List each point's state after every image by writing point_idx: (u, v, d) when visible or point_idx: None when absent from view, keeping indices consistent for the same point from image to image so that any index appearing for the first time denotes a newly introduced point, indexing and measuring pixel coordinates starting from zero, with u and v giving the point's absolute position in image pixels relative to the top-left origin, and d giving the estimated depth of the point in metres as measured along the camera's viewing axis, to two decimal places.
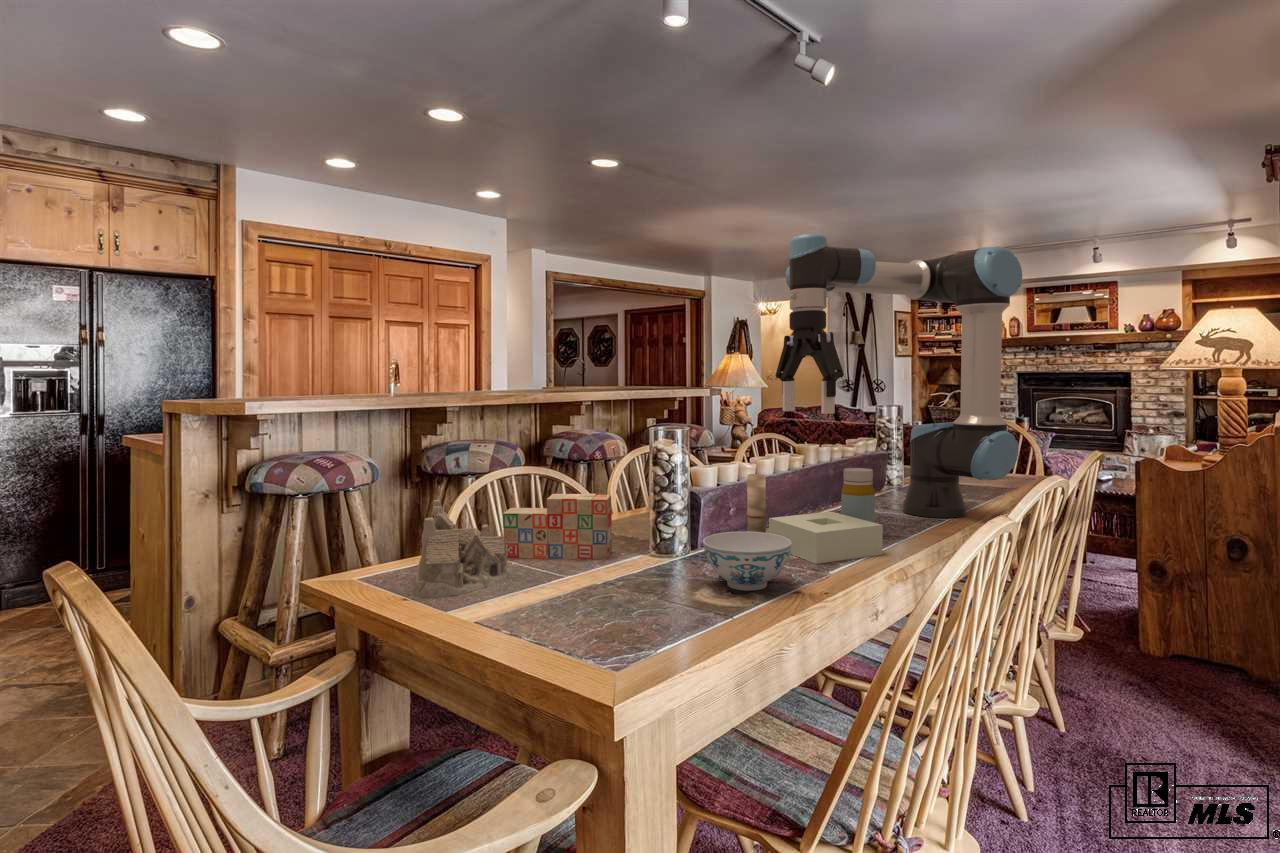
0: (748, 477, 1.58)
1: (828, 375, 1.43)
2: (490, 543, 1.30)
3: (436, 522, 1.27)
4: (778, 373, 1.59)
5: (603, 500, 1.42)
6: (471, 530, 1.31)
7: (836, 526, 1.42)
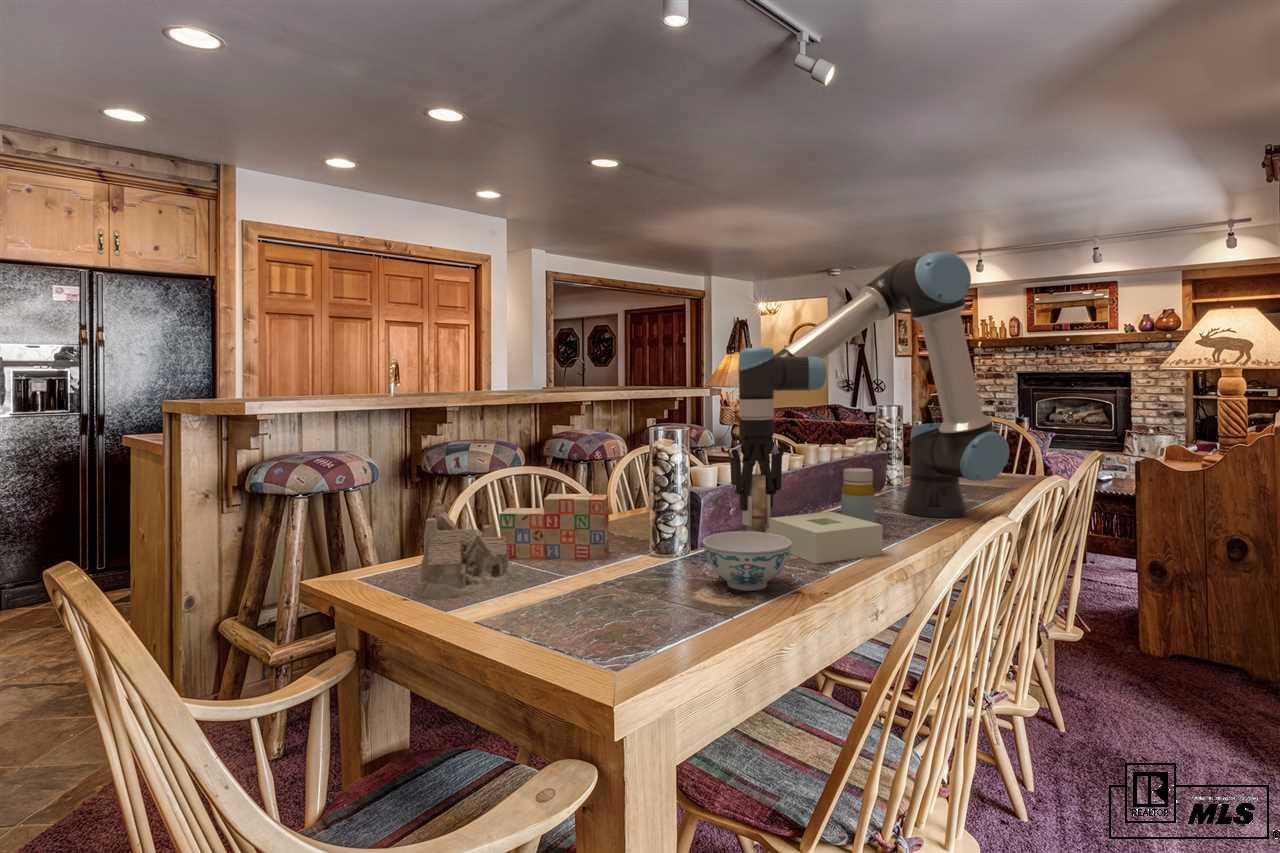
0: None
1: None
2: (491, 543, 1.29)
3: (438, 523, 1.26)
4: None
5: (600, 500, 1.42)
6: (473, 531, 1.30)
7: (836, 526, 1.42)
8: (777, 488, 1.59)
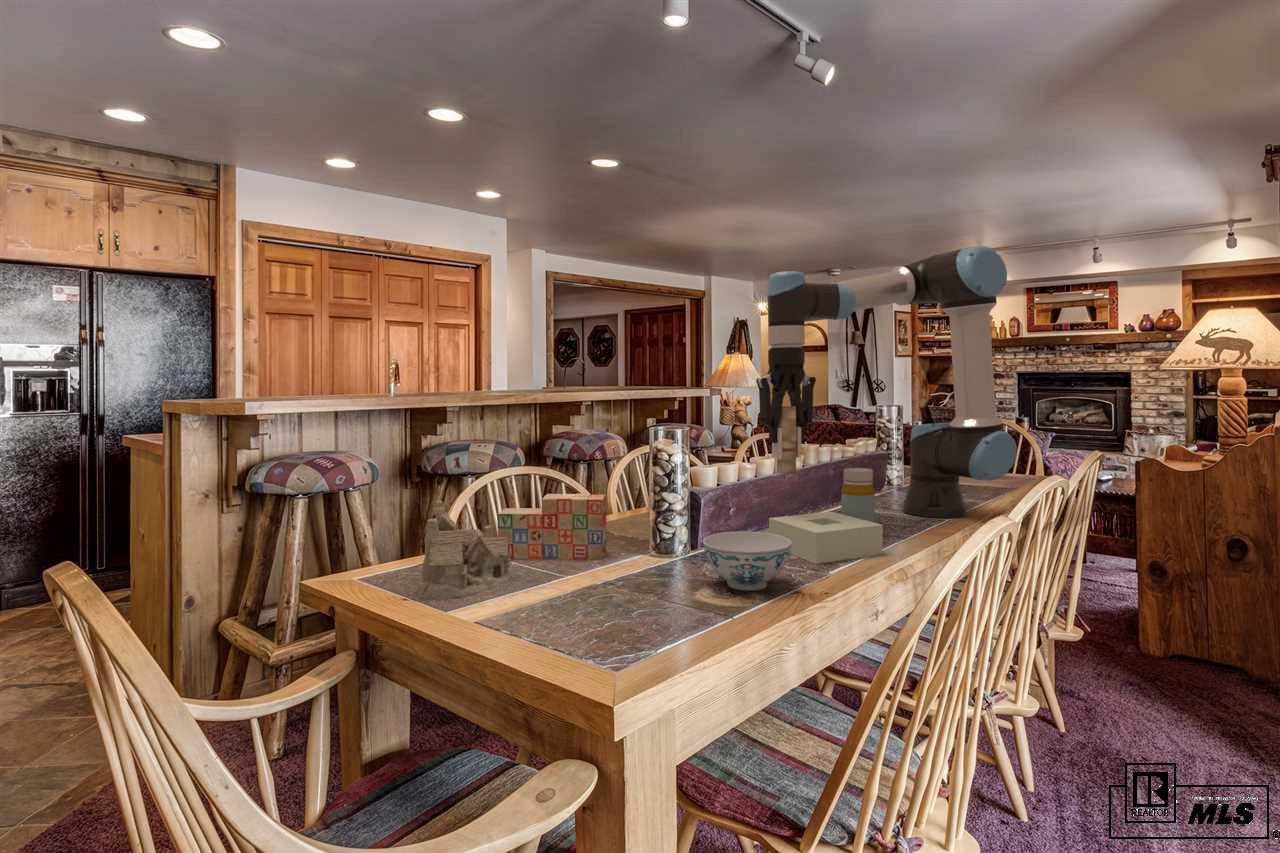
0: None
1: None
2: (493, 544, 1.29)
3: (439, 523, 1.25)
4: None
5: (598, 500, 1.42)
6: (474, 531, 1.30)
7: (836, 526, 1.42)
8: (808, 420, 1.53)
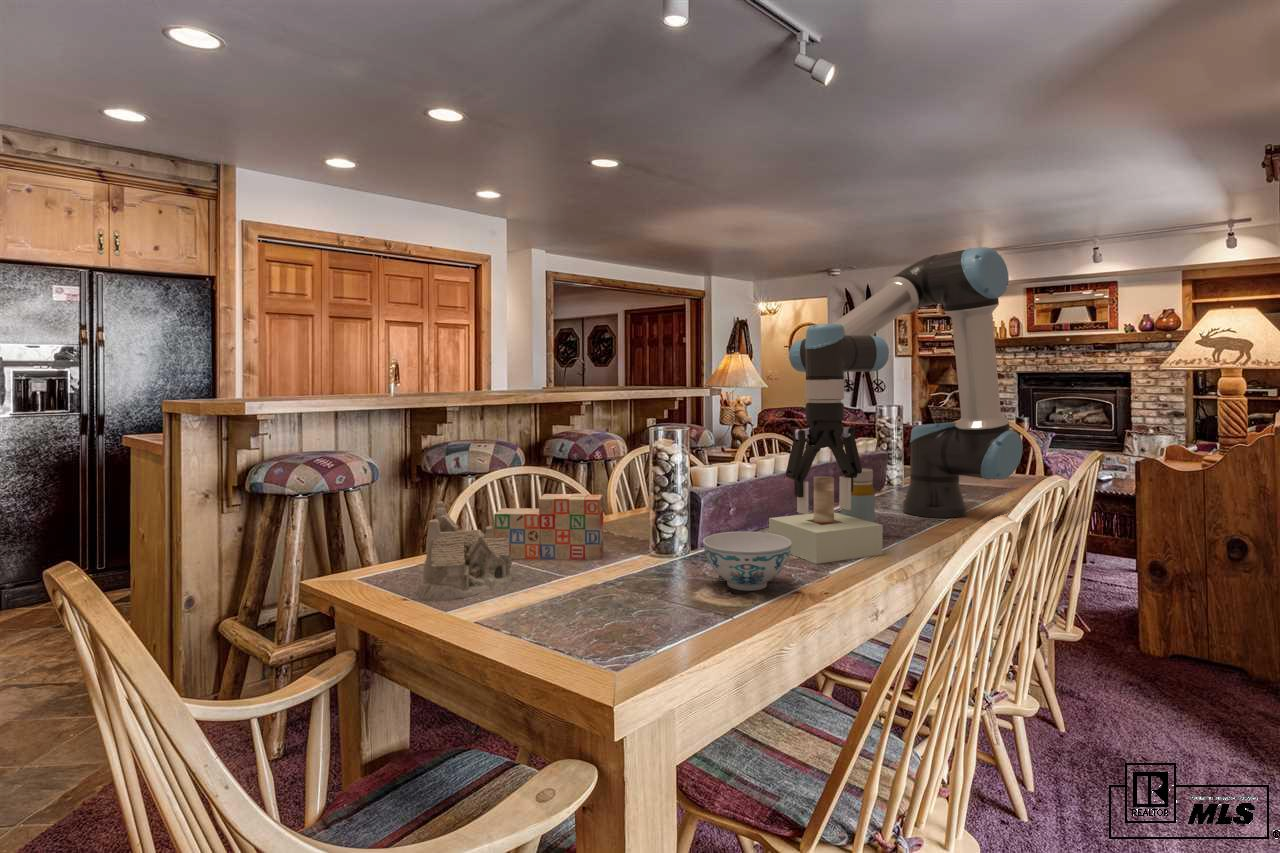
0: (815, 480, 1.45)
1: None
2: (494, 544, 1.28)
3: (440, 524, 1.25)
4: None
5: (595, 500, 1.42)
6: (475, 532, 1.29)
7: (836, 526, 1.42)
8: (858, 471, 1.48)
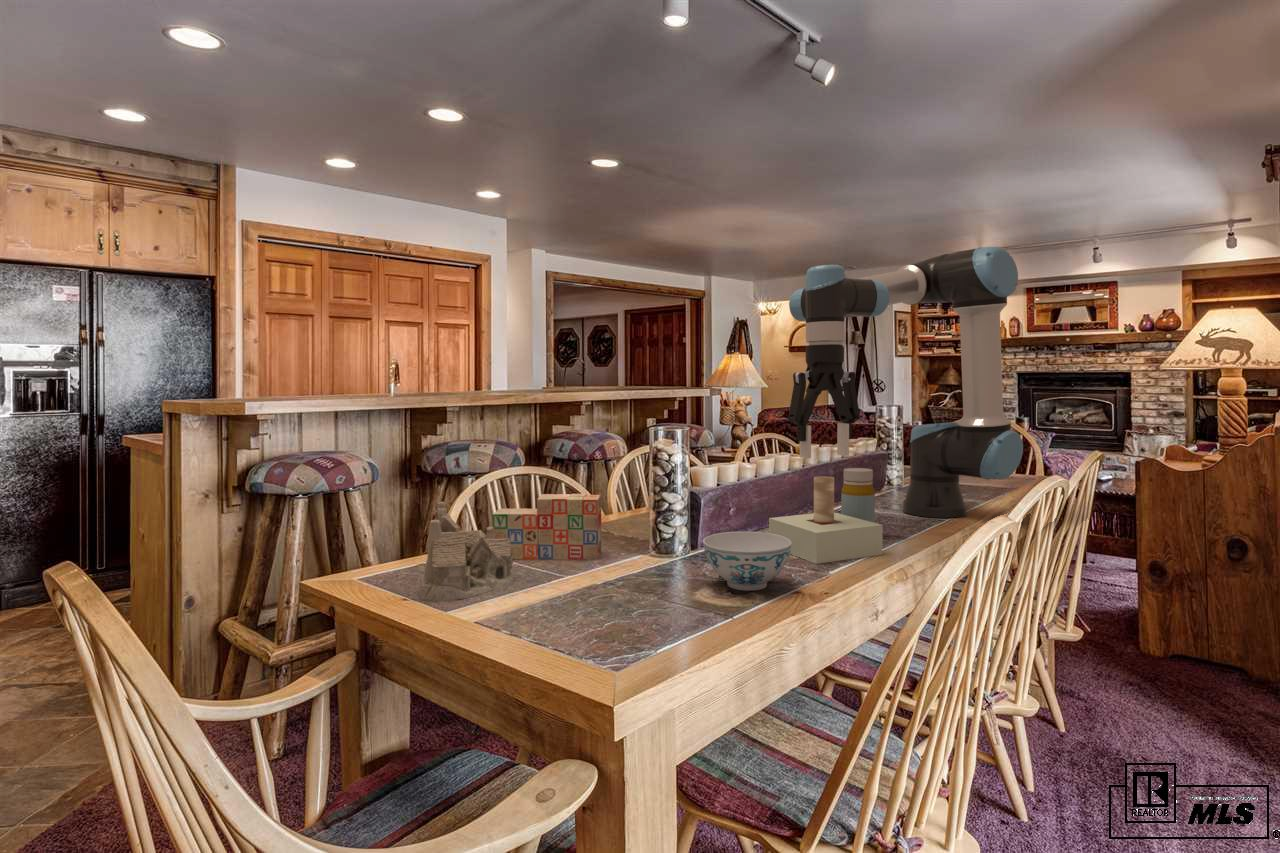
0: (815, 480, 1.45)
1: None
2: (495, 545, 1.28)
3: (441, 524, 1.24)
4: None
5: (594, 500, 1.42)
6: (476, 532, 1.29)
7: (836, 526, 1.42)
8: (856, 417, 1.47)
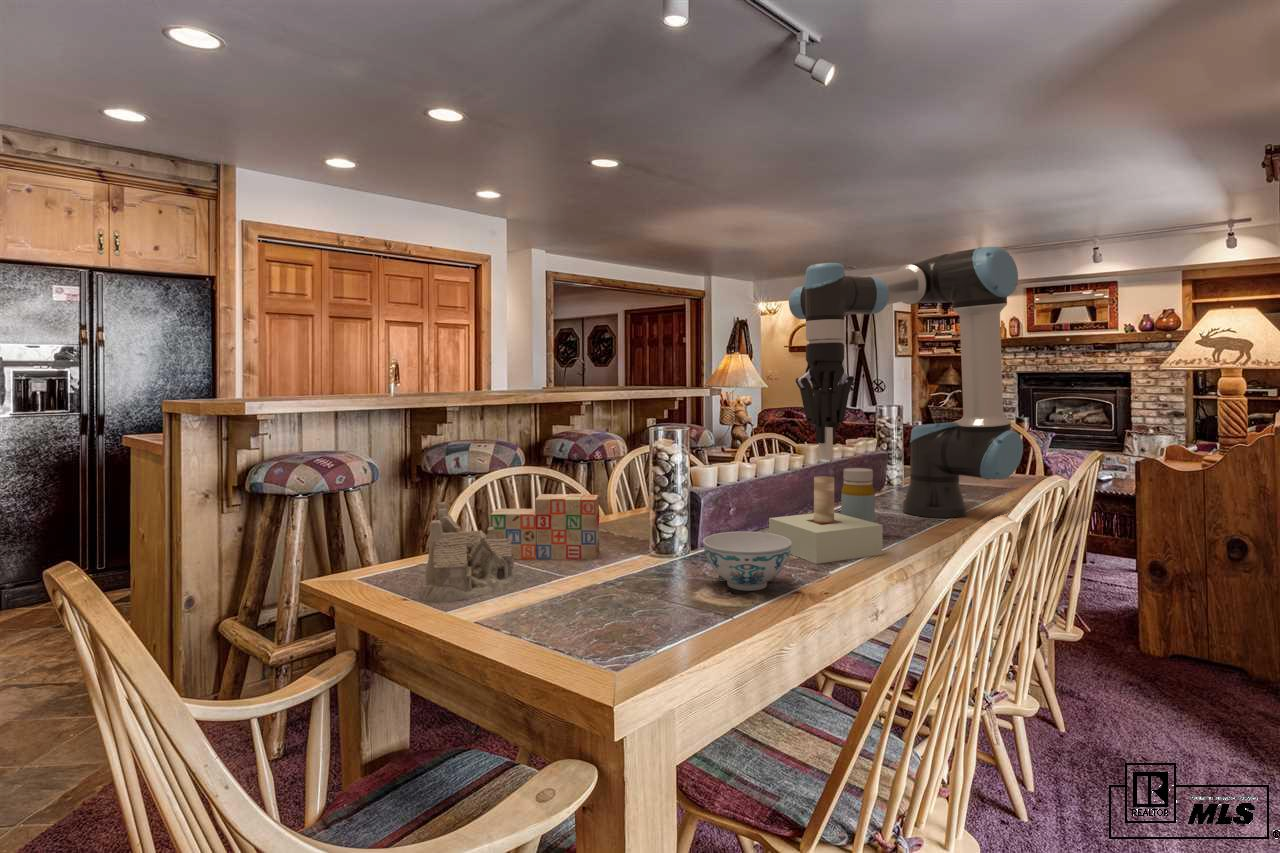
0: (815, 480, 1.45)
1: None
2: (496, 545, 1.28)
3: (442, 525, 1.24)
4: None
5: (592, 500, 1.42)
6: (477, 533, 1.28)
7: (836, 526, 1.42)
8: (840, 420, 1.45)
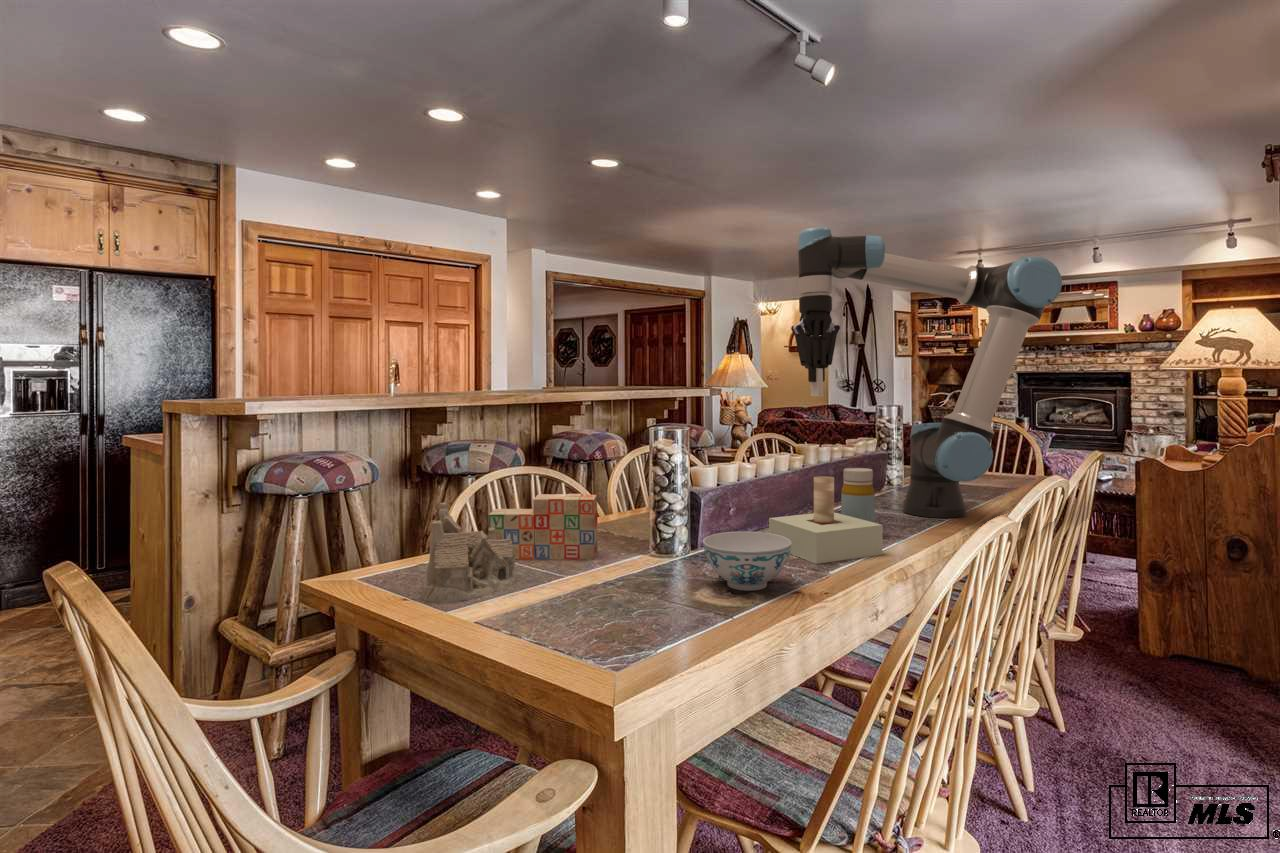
0: (815, 480, 1.45)
1: None
2: (497, 546, 1.27)
3: (443, 525, 1.24)
4: None
5: (590, 500, 1.42)
6: (478, 533, 1.28)
7: (836, 526, 1.42)
8: (828, 362, 1.70)
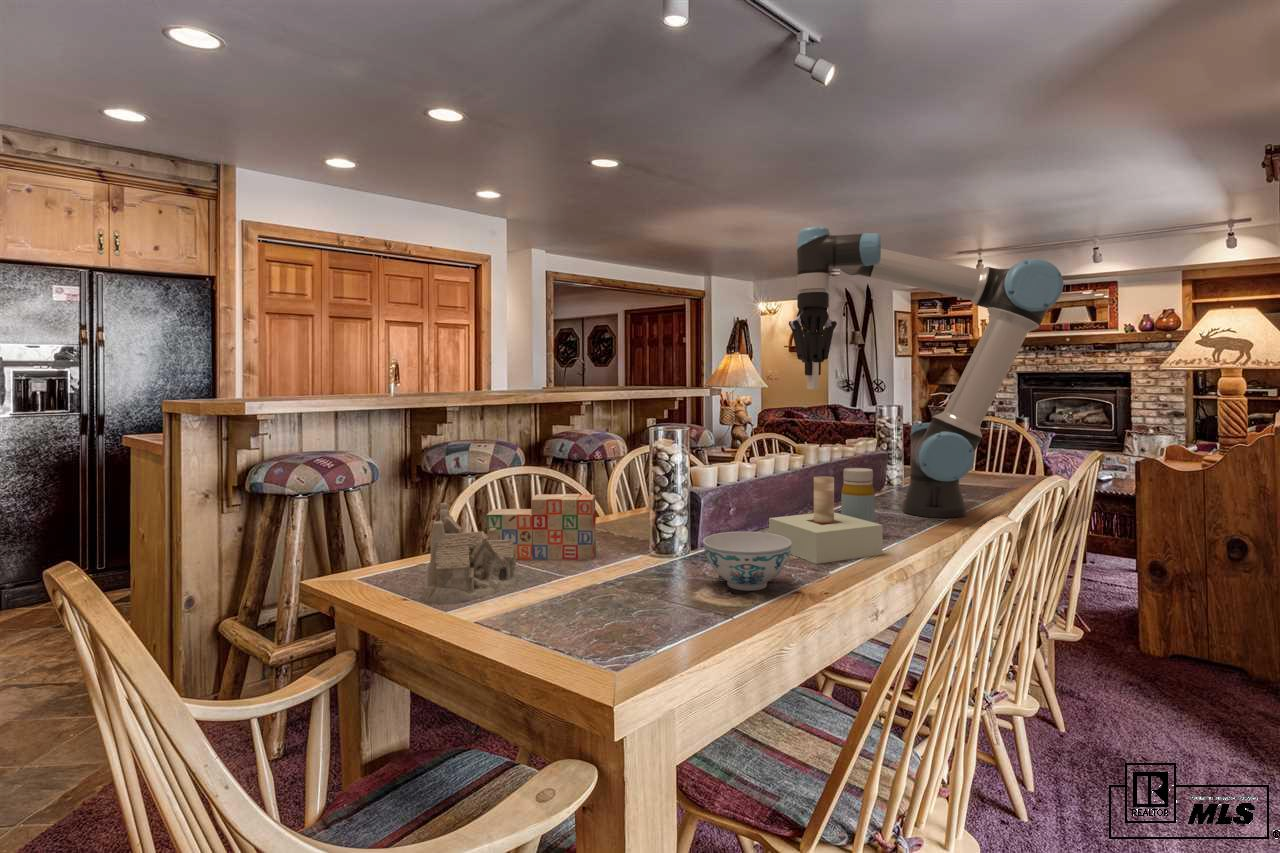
0: (815, 480, 1.45)
1: None
2: (498, 546, 1.27)
3: (444, 526, 1.23)
4: None
5: (588, 500, 1.42)
6: (478, 533, 1.28)
7: (836, 526, 1.42)
8: (824, 357, 1.77)
